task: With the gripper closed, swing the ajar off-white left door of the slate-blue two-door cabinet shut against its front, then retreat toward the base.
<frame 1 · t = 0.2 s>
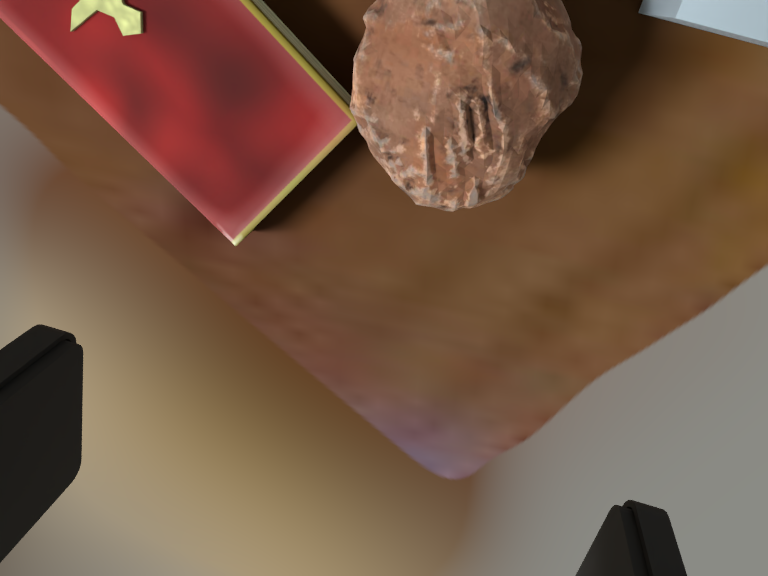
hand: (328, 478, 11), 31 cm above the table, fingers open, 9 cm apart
hardcover book: (192, 49, 40), on the table
decorative rock: (468, 67, 37), on the table
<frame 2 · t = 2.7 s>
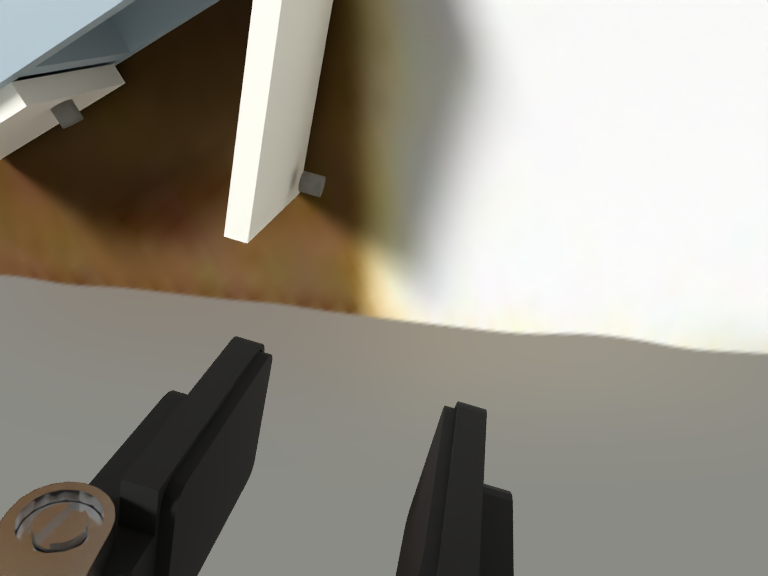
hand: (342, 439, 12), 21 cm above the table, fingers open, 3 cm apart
left door: (299, 94, 26), point 4 cm above the table, hinge at 50.0°
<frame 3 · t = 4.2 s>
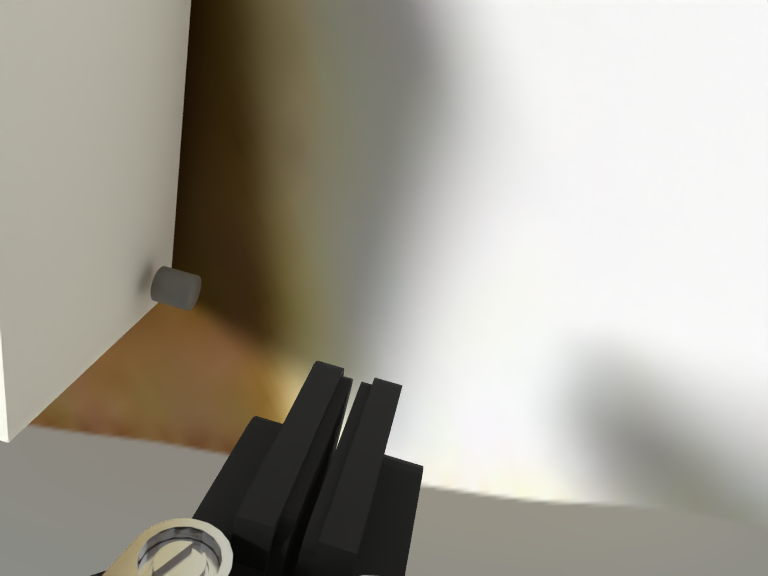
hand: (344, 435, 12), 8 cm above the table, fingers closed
left door: (114, 150, 14), point 4 cm above the table, hinge at 50.0°
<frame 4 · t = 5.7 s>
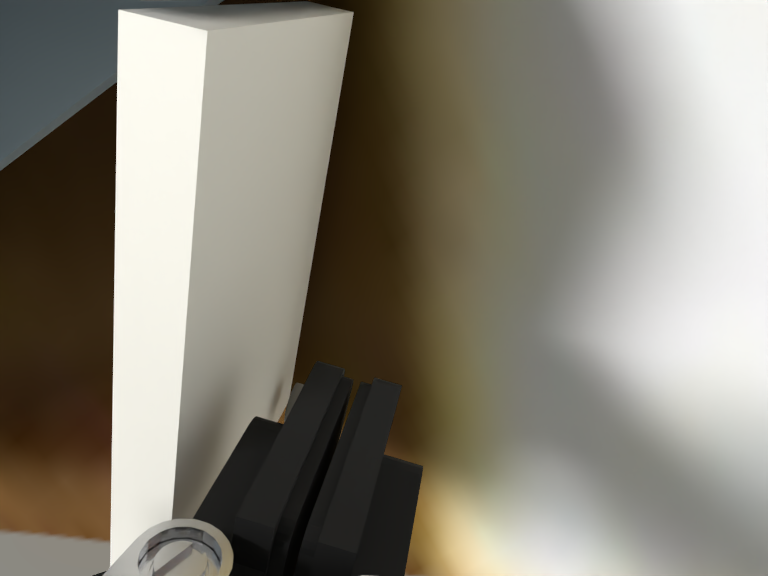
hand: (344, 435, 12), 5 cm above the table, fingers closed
left door: (278, 279, 12), point 4 cm above the table, hinge at 46.7°, touching gripper
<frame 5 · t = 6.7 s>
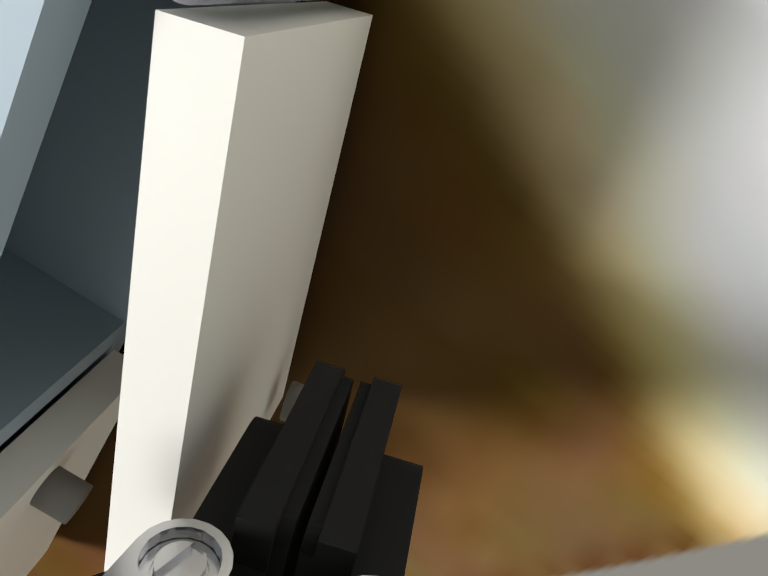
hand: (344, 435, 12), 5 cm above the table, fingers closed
left door: (285, 279, 12), point 4 cm above the table, hinge at 17.3°, touching gripper
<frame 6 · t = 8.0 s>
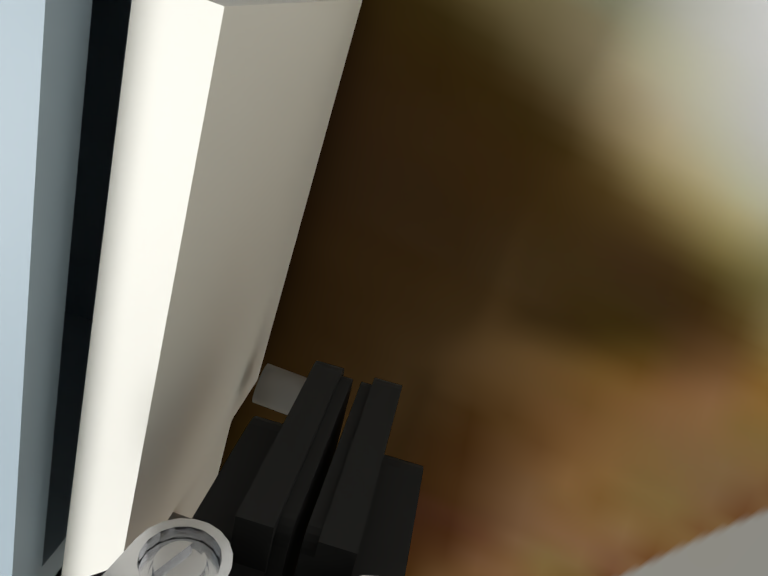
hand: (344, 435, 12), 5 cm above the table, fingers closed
cabinet: (53, 287, 18), on the table
left door: (262, 259, 12), point 4 cm above the table, hinge at -0.4°
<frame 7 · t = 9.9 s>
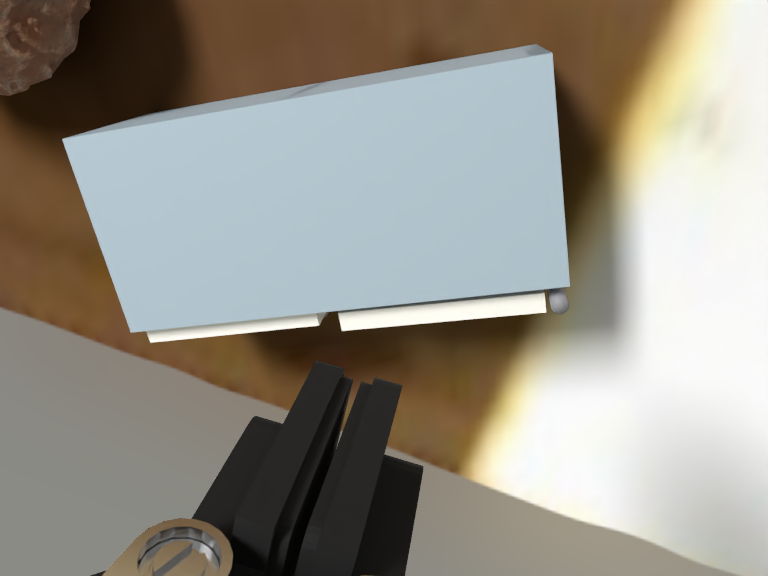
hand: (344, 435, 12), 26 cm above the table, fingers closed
cabinet: (348, 170, 37), on the table
left door: (454, 296, 34), point 4 cm above the table, hinge at -0.4°
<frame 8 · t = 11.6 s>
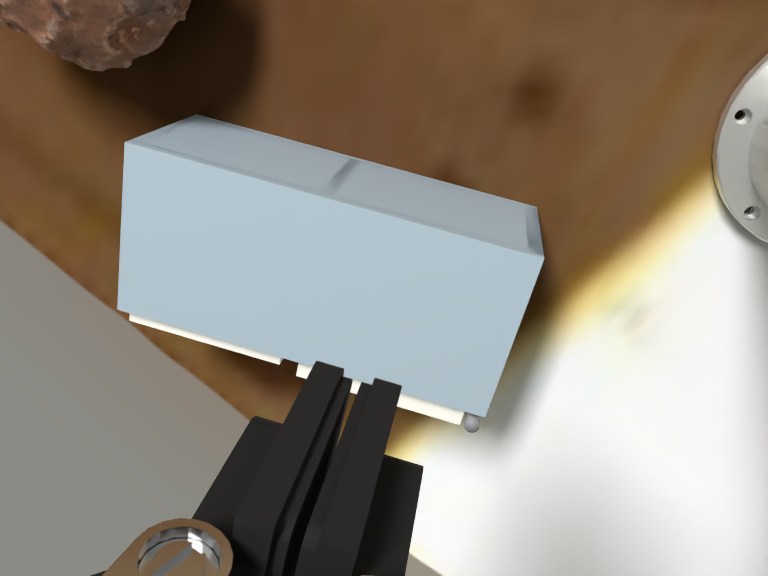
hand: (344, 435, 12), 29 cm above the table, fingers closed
cabinet: (348, 233, 42), on the table
left door: (394, 373, 41), point 4 cm above the table, hinge at -0.4°
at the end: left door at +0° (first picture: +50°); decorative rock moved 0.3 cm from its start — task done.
